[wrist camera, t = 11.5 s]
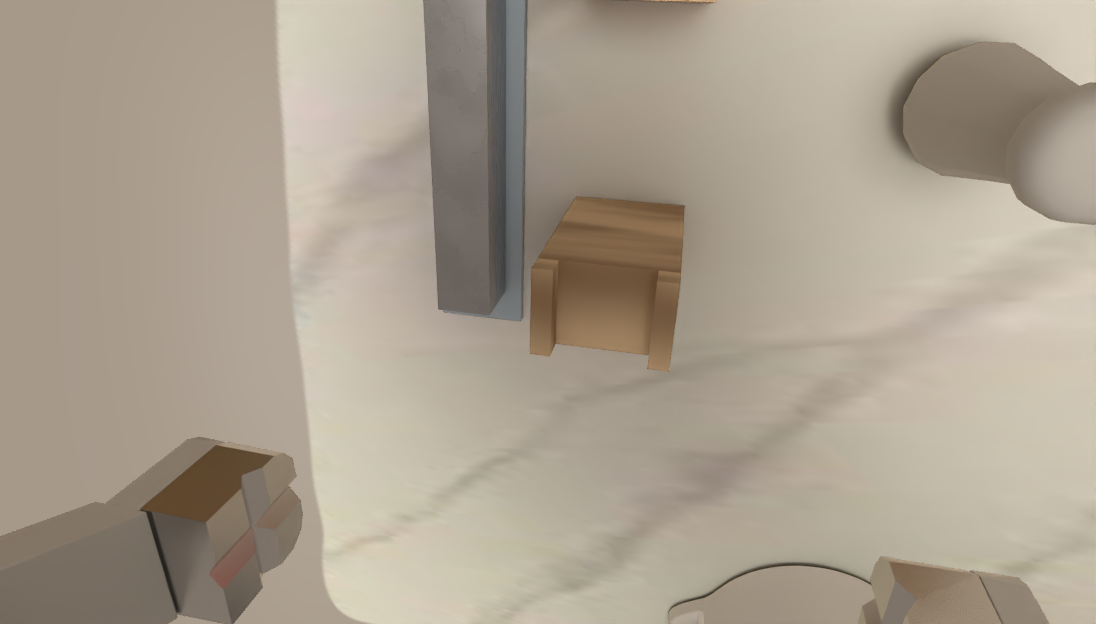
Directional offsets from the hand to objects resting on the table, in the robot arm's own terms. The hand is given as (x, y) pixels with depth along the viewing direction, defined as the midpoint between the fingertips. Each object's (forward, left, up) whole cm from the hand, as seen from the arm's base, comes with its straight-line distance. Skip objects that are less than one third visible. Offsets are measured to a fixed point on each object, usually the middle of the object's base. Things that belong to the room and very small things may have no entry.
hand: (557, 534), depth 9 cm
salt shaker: (+3, -14, -29) cm, 32 cm away
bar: (+2, +10, -28) cm, 30 cm away
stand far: (-5, +1, -29) cm, 29 cm away
